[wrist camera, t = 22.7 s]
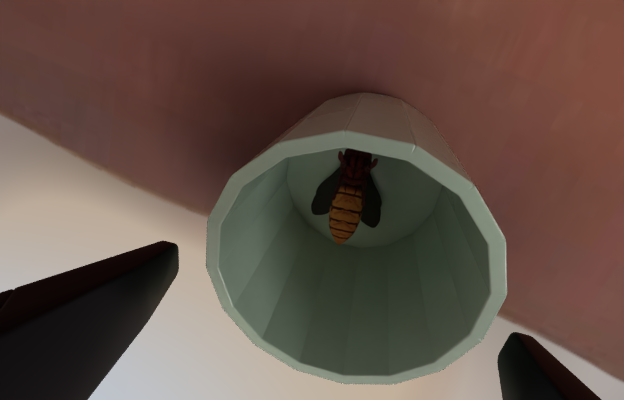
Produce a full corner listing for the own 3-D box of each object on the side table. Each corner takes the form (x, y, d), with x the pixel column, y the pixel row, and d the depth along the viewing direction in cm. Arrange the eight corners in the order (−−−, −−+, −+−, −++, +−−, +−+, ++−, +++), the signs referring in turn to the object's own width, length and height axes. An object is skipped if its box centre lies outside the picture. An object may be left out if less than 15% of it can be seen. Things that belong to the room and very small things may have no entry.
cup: (264, 112, 18) (163, 164, 10) (441, 73, 15) (504, 99, 7) (303, 254, 21) (251, 383, 13) (455, 240, 19) (509, 387, 10)
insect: (312, 115, 12) (329, 104, 17) (289, 258, 14) (309, 214, 19) (419, 135, 12) (406, 119, 16) (378, 279, 14) (377, 229, 19)
